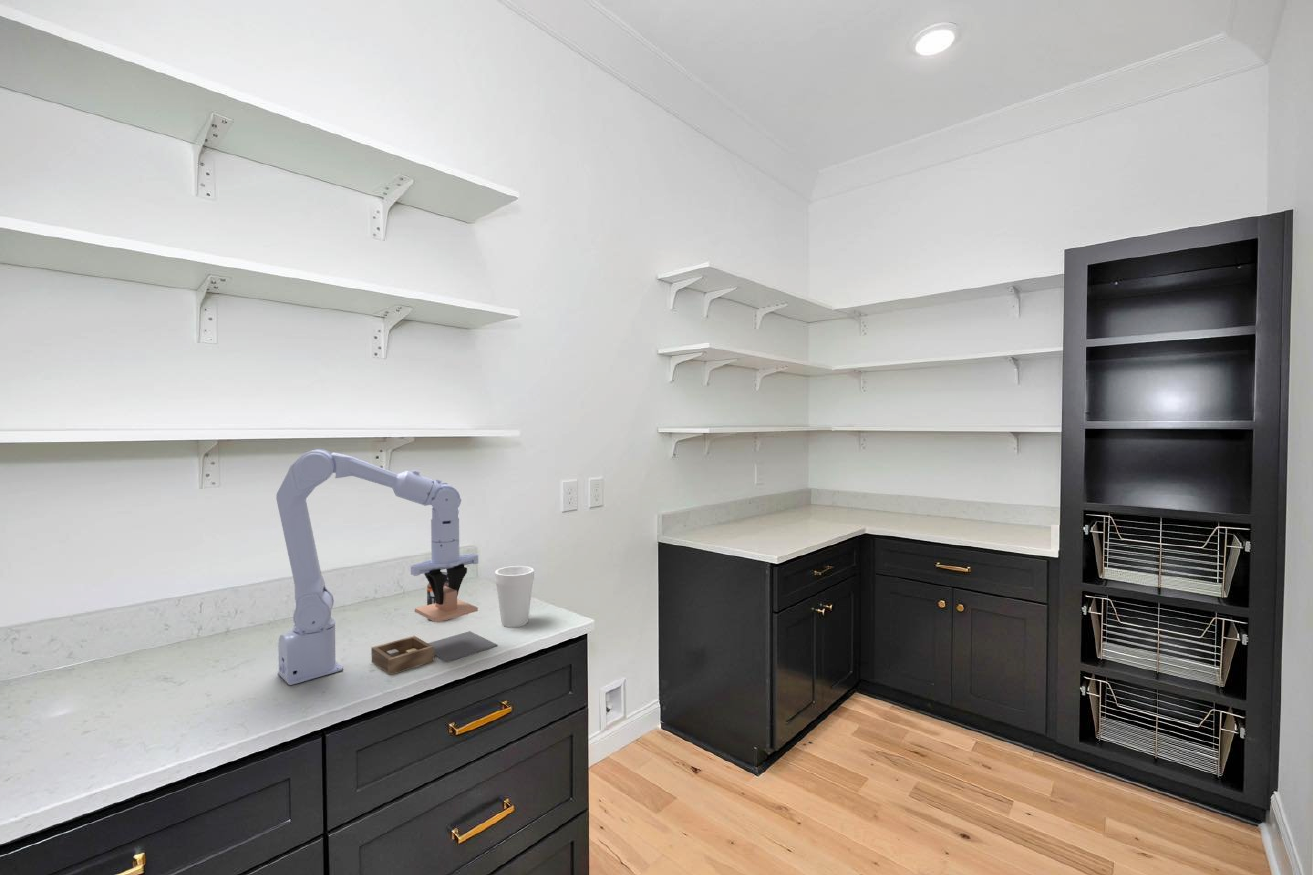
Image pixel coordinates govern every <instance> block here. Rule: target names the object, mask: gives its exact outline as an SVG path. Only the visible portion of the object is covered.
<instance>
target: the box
mask: <svg viewBox="0 0 1313 875" xmlns="http://www.w3.org/2000/svg"><path fill="white" fill-rule="evenodd" d="M428 643H429V642H426V641H424V640H423V639H421V638H419V637H417V636H415V635H413V636H409V637H405V638H400V639H398V640H393V641H390V642H386V643H384V644H380V645H376V646H372V647H371V662H372V664H374V665H375V666H377V667H378V668H380V669H381V670H382V671H384V672H385V673H387V674H388V675H389V676H391V675H394V674H397V673H400V672H404V671H406V670H410V669H413V668H416V667H420V666H423V665H427V664H429V663H433V662H434V661H435V659H434V658H435V655H434V647H433V646H431V645H430V644H428Z"/></svg>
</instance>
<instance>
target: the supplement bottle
mask: <svg viewBox="0 0 1313 875" xmlns="http://www.w3.org/2000/svg"><path fill="white" fill-rule="evenodd" d="M441 572H442V574H445V575H446V576H445V581H444V587H445V586H447V587H449V583H448V575H447V571H441ZM426 587H427V588H426V605H430V604H434V603H435V597H434V593H433V590H432V588H431V585H430V583H429V582H428V584H427V586H426ZM428 620H430V619H428ZM430 621H431V620H430Z"/></svg>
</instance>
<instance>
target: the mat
mask: <svg viewBox="0 0 1313 875" xmlns="http://www.w3.org/2000/svg"><path fill="white" fill-rule="evenodd" d="M427 643H428V644H430V645H431V646H433V647H434V657H437V658H438V659H440V660H441V661H444V662H445V663H449V662H451V661H455V660H458V659H459V660H460V659H461V658H464V657H467V656H470V655H473V654H478V653H480V652H484V651H487V650H490V649H492V648H493V649H494V648H496V647H498V644H497V643H495V642H493V641H491V640H489V639H487V638H485V637H482V636H480V635H479V634H477V633H475V632H473V631H471V630H470V631H467V632H466V631H465V632H462V633H459V634H456V635H452V636H449V637H445V638H441V639H438V640H437V639H436V640H435V641H430V642H427Z"/></svg>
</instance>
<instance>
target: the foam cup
mask: <svg viewBox="0 0 1313 875" xmlns="http://www.w3.org/2000/svg"><path fill="white" fill-rule="evenodd" d="M534 580H535V569H534V568H533V567H531V566H524V565H514V566H513V565H512V566H505V567H501V568H497V569H496V570H494V583H495V584H496V591H497V599H498V600H497V601H498V608H499V614H500V622H501V625H502V626H503V627H505V628H518V627H519V628H520V627H522V626H525V624H526V623H527V622H528V620H529V614H530V607H531V600H532V593H533V584H534ZM528 623H529V622H528ZM528 623H527V624H528ZM527 624H526V625H527Z"/></svg>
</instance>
